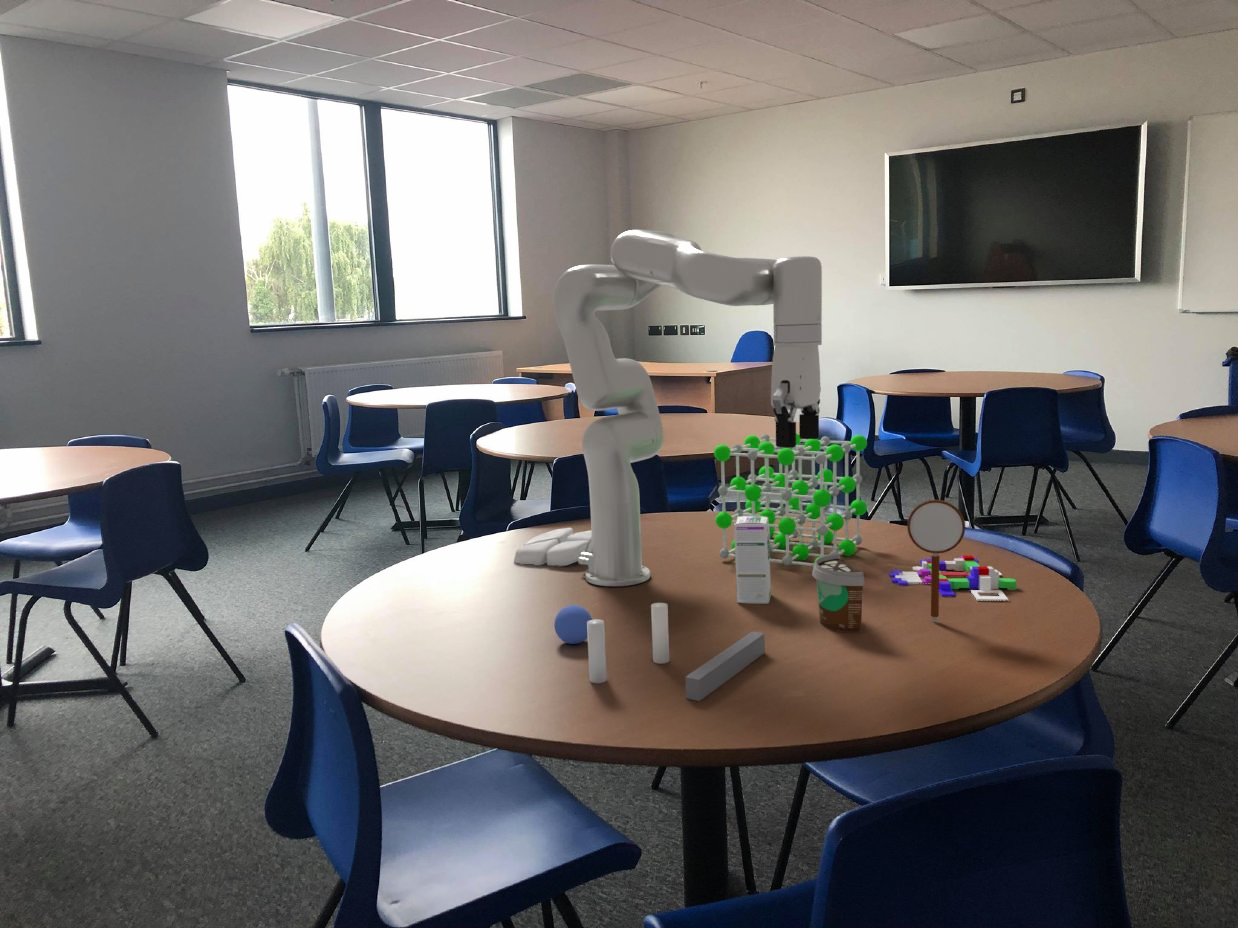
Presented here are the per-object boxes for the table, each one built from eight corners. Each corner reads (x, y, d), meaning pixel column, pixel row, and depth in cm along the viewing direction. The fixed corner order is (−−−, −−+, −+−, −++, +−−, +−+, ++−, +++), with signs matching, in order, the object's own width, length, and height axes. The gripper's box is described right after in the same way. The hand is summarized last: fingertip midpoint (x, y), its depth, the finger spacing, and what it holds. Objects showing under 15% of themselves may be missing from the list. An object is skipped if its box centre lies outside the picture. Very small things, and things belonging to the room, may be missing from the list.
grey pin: (586, 681, 131) (583, 623, 129) (596, 675, 133) (593, 618, 131) (600, 684, 130) (597, 625, 128) (609, 678, 131) (607, 620, 130)
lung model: (504, 565, 195) (556, 547, 218) (579, 572, 188) (625, 552, 211) (504, 534, 194) (556, 519, 217) (579, 540, 188) (625, 523, 211)
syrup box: (769, 604, 162) (768, 522, 159) (735, 603, 163) (733, 522, 160) (771, 594, 167) (769, 515, 165) (737, 593, 168) (736, 515, 166)
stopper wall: (686, 698, 124) (685, 676, 123) (752, 650, 140) (752, 631, 140) (699, 701, 123) (698, 679, 122) (764, 652, 139) (764, 633, 138)
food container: (803, 612, 156) (802, 555, 155) (839, 610, 157) (839, 552, 155) (825, 637, 144) (825, 575, 143) (864, 635, 145) (864, 572, 143)
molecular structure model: (869, 546, 197) (869, 433, 194) (828, 576, 177) (827, 450, 173) (763, 535, 210) (761, 429, 206) (713, 562, 190) (710, 445, 186)
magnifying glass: (963, 622, 149) (965, 499, 145) (963, 625, 147) (965, 501, 144) (906, 618, 151) (907, 498, 148) (906, 621, 150) (907, 500, 147)
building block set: (883, 565, 185) (883, 543, 184) (991, 565, 182) (992, 543, 181) (901, 604, 161) (901, 579, 160) (1026, 605, 157) (1027, 580, 157)
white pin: (650, 661, 137) (648, 606, 136) (658, 656, 139) (656, 601, 138) (663, 664, 136) (662, 608, 134) (672, 659, 138) (670, 604, 136)
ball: (547, 645, 146) (545, 608, 145) (570, 633, 151) (568, 598, 150) (578, 652, 142) (576, 614, 141) (600, 639, 147) (599, 603, 146)
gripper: (796, 334, 157) (796, 434, 160) (752, 339, 143) (754, 449, 146) (839, 333, 153) (838, 436, 156) (799, 338, 139) (799, 451, 142)
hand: (797, 442), depth 151 cm, fingers open, 9 cm apart
